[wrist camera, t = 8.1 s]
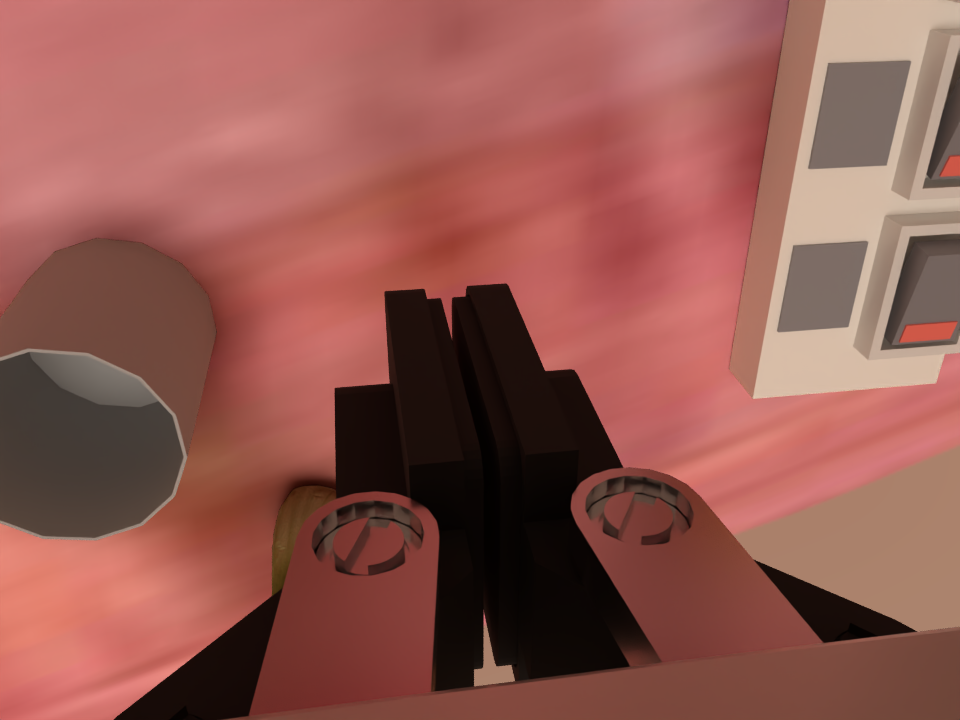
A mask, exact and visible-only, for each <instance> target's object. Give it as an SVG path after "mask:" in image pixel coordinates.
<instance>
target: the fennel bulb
mask: <svg viewBox="0 0 960 720" xmlns="http://www.w3.org/2000/svg"><path fill="white" fill-rule="evenodd" d="M335 499H336V490H335V489H332V488H329V487H324V486H319V485H318V486H303V487H298V488H295V489H294V490H293V491H291V492H290V494H289V496H288V498H287V499H286V500H285V501H284V503H283V505H282V506H281V508H280V510H279V513H278V516H277V520H276V525H275V529H274V534H273V545H272V596H273V595H274V594H275V593H277V592H278V591H279V590H280V589H282V588H283V586H284V582H285V579H286V575H287V571H288V567H289V564H290V560H291V556H292V553H293V549H294V545H295V541H296V538H297V535H298V533H299V531H300V529H301V527H302V525H303V523H304V521H305V520H307V519H308V518H309V517H310V516H311V515H312V514H313V513H314V512H315V511H316V510H317V509H318V508H320V507H322V506H324V505H326V504H327V503H329V502H331V501H333V500H335Z"/></svg>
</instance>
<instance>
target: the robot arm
mask: <svg viewBox="0 0 960 720" xmlns="http://www.w3.org/2000/svg"><path fill="white" fill-rule="evenodd" d="M385 313H386V330H387V346H388V363H389V379H390V384H378V385H365V386H352V387H340V388H335V449H336V499H335V500H333V501H331V502H329V503H327V504H326V505H324V506H322V507H320V508H318V509H317V510H316V511H315V512H314V513H313V514H312V515H311V516H310V517H309V518H308V519H307V520H305V521H304V523H303V525H302V527H301V529H300V531H299V533H298V535H297V538H296V541H295V545H294V549H293V553H292V556H291V560H290V564H289V567H288V571H287V575H286V579H285V582H284V586H283V588H282V589H280V590H279V591H278V592H277V593H275V594H274V595H273V596H271V597H270V598H269V599H268V600H266V601H265V602H264V603H262V604H261V605H260V606H259V607H257V608H256V609H255V610H253V611H252V612H251V613H250V614H248V615H247V616H246V617H244V618H243V619H242V620H241V621H239V622H238V623H237V624H235V625H234V626H233V627H232V628H230V629H229V630H228V631H226V632H225V633H224V634H223V635H221V636H220V637H219V638H217V639H216V640H215V641H214V642H212V643H211V644H210V645H208V646H207V647H206V648H205V649H203V650H202V651H201V652H199V653H198V654H197V655H196V656H194V657H193V658H192V659H190V660H189V661H188V662H187V663H185V664H184V665H183V666H181V667H180V668H179V669H178V670H176V671H175V672H174V673H172V674H171V675H170V676H169V677H167V678H166V679H165V680H163V681H162V682H161V683H160V684H158V685H157V686H156V687H154V688H153V689H152V690H151V691H149V692H148V693H147V694H145V695H144V696H143V697H142V698H140V699H139V700H138V701H136V702H135V703H134V704H132V705H131V706H130V707H129V708H127V709H126V710H125V711H123V712H122V713H121V714H120V715H118V716H117V717H116V718H115V719H114V720H960V627H954V628H945V629H937V630H928V631H920V632H917V631H915V630H913V629H912V628H909V627H908V626H906V625H904V624H902V623H900V622H898V621H896V620H894V619H892V618H890V617H887V616H885V615H883V614H880V613H878V612H876V611H873V610H871V609H869V608H866V607H864V606H861V605H859V604H857V603H854V602H852V601H850V600H847V599H845V598H843V597H840V596H838V595H836V594H833V593H831V592H829V591H826V590H824V589H821V588H819V587H817V586H814V585H812V584H810V583H807V582H805V581H803V580H800V579H798V578H796V577H793V576H791V575H789V574H786V573H784V572H781V571H779V570H777V569H774V568H772V567H770V566H767V565H765V564H763V563H760V562H758V561H756V560H753V559H752V557H751V556H750V555H749V554H748V553H747V551H746V550H745V549H744V548H743V547H742V545H741V544H740V543H739V542H738V541H737V540H736V538H735V537H734V536H733V535H732V534H731V532H730V531H729V530H728V529H727V528H726V526H725V525H724V524H723V523H722V522H721V521H720V519H719V518H718V517H717V516H716V515H715V513H714V512H713V511H712V510H711V509H710V507H709V506H708V505H707V504H706V503H705V501H704V500H703V499H702V498H701V497H700V496H699V495H698V494H697V493H696V492H695V491H694V490H693V489H692V488H690V487H689V486H688V485H687V484H685V483H683V482H682V481H680V480H678V479H676V478H674V477H672V476H670V475H667V474H664V473H660V472H657V471H654V470H650V469H641V468H631V467H628V468H623V466H622V464H621V462H620V460H619V458H618V456H617V454H616V452H615V450H614V448H613V446H612V444H611V442H610V440H609V437H608V435H607V433H606V431H605V429H604V427H603V425H602V423H601V421H600V419H599V417H598V415H597V413H596V411H595V409H594V407H593V405H592V403H591V401H590V399H589V397H588V395H587V393H586V391H585V389H584V387H583V385H582V383H581V381H580V379H579V376H578V375H577V373H576V372H575V370H572V369H568V370H556V371H545V370H544V367H543V365H542V363H541V360H540V358H539V356H538V353H537V351H536V349H535V346H534V344H533V342H532V339H531V337H530V335H529V333H528V330H527V328H526V326H525V323H524V321H523V319H522V316H521V314H520V312H519V309H518V307H517V305H516V302H515V300H514V298H513V295H512V293H511V291H510V288H509V286H508V285H507V284H492V285H476V286H467V289H466V297H453V298H452V338H451V335H450V331H449V327H448V323H447V319H446V316H445V312H444V308H443V304H442V300H441V298H437V299H427V297H426V293H425V289H415V290H399V291H385ZM484 614H485V618H486V623H487V628H488V633H489V637H490V642H491V647H492V652H493V656H494V660H495V664H496V666H505V665H512V669H513V674H514V678H515V681H514V682H507V683H499V684H491V685H483V686H476V687H474V669H481V668H483V617H484Z"/></svg>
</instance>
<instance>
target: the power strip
mask: <svg viewBox="0 0 960 720" xmlns="http://www.w3.org/2000/svg"><path fill="white" fill-rule="evenodd" d="M959 76H960V0H790V1H789V7H788V13H787V19H786V25H785V31H784V37H783V43H782V49H781V56H780V62H779V68H778V74H777V80H776V86H775V92H774V98H773V104H772V110H771V116H770V122H769V129H768V135H767V141H766V147H765V153H764V159H763V165H762V171H761V177H760V183H759V189H758V195H757V201H756V208H755V214H754V220H753V226H752V232H751V238H750V244H749V250H748V256H747V262H746V268H745V274H744V280H743V287H742V293H741V299H740V305H739V311H738V317H737V323H736V329H735V335H734V341H733V347H732V353H731V360H730V366H729V370H730V371H731V372H732V373H733V375H734V376H735V377H736V379H737V380H738V381H739V382H740V384H741V385H742V386H743V387H744V389H745V390H746V391H747V392H748V394H749V395H750V396H751V397H752V399H757V398H768V397H780V396H792V395H804V394H815V393H827V392H839V391H850V390H862V389H874V388H885V387H897V386H909V385H920V384H932V383H936V382H937V378H938V375H939V372H940V368H941V365H942V362H943V359H944V355H945V354H952V353H960V327H959V329H958V331H957V333H956V335H955V338H954V340H952V341H939V342H927V343H914V344H901V345H891V344H890V343H889V342H888V341H887V339H886V338H885V337H884V334H885V330H886V326H887V322H888V319H889V315H890V311H891V307H892V303H893V299H894V296H895V292H896V288H897V284H898V281H899V279H900V276H901V274H902V271H903V269H904V266H905V264H906V261H907V259H908V256H909V254H910V251H911V249H912V246H913V244H914V242H918V241H934V240H950V239H960V178H955V179H936V180H931V179H930V178H929V177H928V176H927V175H926V173H927V169H928V165H929V162H930V158H931V154H932V150H933V146H934V143H935V139H936V135H937V131H938V127H939V123H940V120H941V116H942V112H943V109H944V107H945V105H946V103H947V101H948V99H949V97H950V95H951V93H952V90H953V88H954V86H955V84H956V82H957V80H958V78H959Z"/></svg>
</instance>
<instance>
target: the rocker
mask: <svg viewBox="0 0 960 720" xmlns="http://www.w3.org/2000/svg"><path fill="white" fill-rule="evenodd" d="M959 327H960V239H950V240H934V241H918V242H914V244H913V246H912V249H911V251H910V254H909V256H908V259H907V261H906V264H905V266H904V269H903V271H902V274H901V276H900V279H899V281H898V284H897V288H896V292H895V296H894V299H893V303H892V307H891V311H890V315H889V319H888V322H887V326H886V330H885V334H884V337H885V338H886V339H887V341H888V342H889V343H890V344H891V345H901V344H914V343H927V342H939V341H952V340H954V338H955V335H956V333H957V331H958V329H959Z"/></svg>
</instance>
